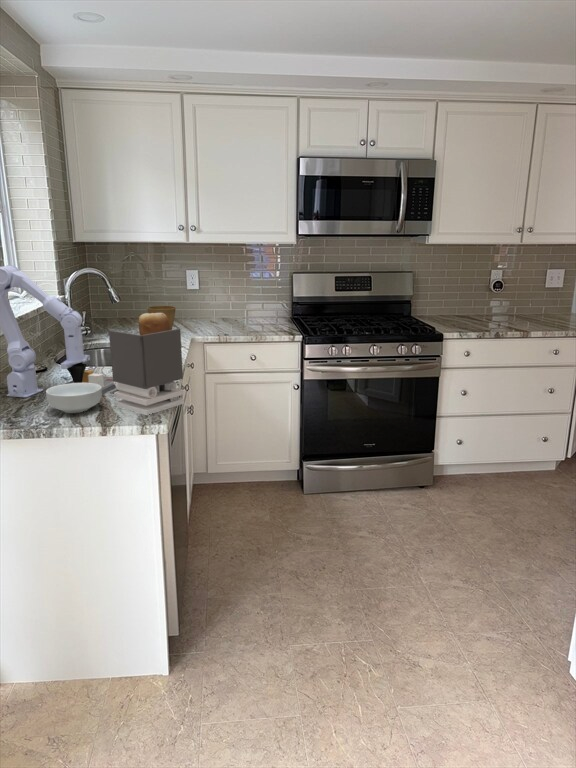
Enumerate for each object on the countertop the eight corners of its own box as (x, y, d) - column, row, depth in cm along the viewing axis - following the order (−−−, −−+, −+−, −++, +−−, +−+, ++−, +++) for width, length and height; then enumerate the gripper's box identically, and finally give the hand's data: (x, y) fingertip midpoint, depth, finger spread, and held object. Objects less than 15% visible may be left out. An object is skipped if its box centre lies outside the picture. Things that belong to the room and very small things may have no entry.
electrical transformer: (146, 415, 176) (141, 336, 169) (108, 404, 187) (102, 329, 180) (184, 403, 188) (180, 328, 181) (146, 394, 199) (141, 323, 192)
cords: (112, 393, 199) (112, 390, 198) (56, 389, 204) (56, 386, 203) (138, 380, 217) (138, 377, 216) (86, 377, 222) (86, 374, 221)
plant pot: (151, 340, 297) (149, 309, 293) (147, 335, 310) (145, 306, 306) (179, 338, 302) (178, 308, 298) (174, 333, 315) (172, 304, 311)
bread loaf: (156, 369, 233) (152, 309, 227) (182, 373, 227) (179, 311, 221) (133, 377, 221) (128, 313, 215) (160, 381, 215) (156, 315, 209)
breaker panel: (97, 397, 195) (95, 379, 193) (56, 394, 198) (54, 376, 197) (127, 381, 214) (126, 365, 213) (89, 379, 218) (87, 363, 216)
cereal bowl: (110, 411, 179) (108, 390, 178) (55, 421, 170) (53, 398, 168) (94, 399, 193) (92, 379, 191) (42, 407, 183) (40, 386, 182)
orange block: (89, 384, 204) (88, 372, 203) (79, 383, 205) (78, 371, 204) (94, 382, 207) (93, 370, 206) (84, 381, 208) (83, 369, 207)
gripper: (72, 351, 189) (76, 390, 193) (96, 343, 203) (99, 379, 206) (53, 350, 191) (58, 389, 194) (78, 342, 204) (82, 378, 208)
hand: (78, 384), depth 201 cm, fingers closed
